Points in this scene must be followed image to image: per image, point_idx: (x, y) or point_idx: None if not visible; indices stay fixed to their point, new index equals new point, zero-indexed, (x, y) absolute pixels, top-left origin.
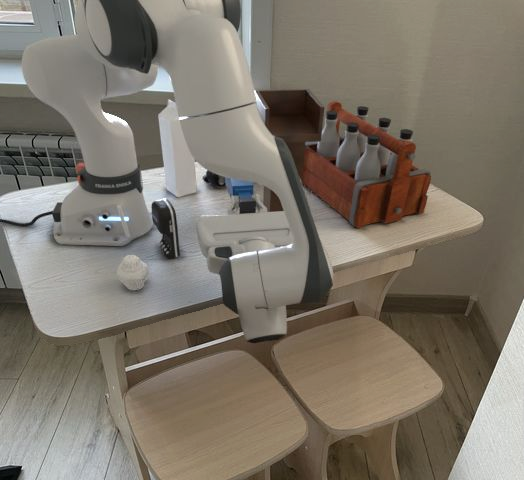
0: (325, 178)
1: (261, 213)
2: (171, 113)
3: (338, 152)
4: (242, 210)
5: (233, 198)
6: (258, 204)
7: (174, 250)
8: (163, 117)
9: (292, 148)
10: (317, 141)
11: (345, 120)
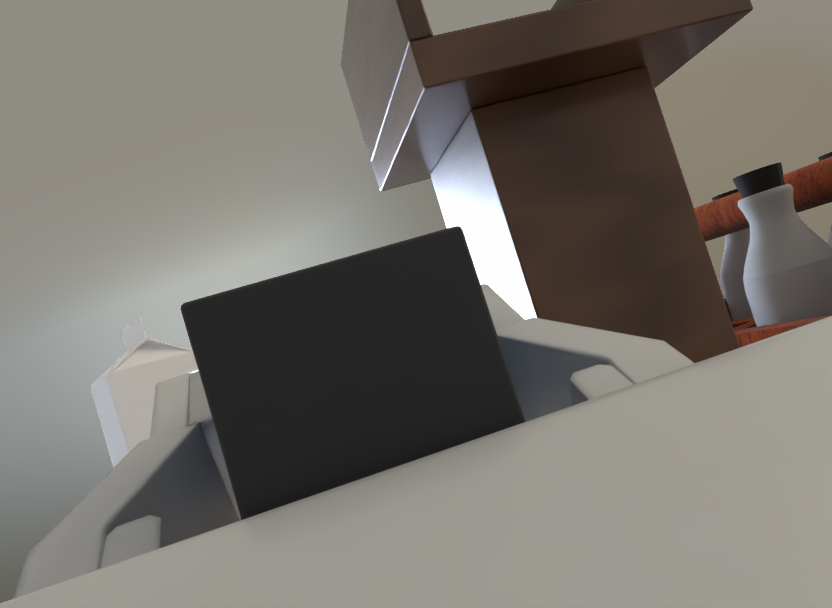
0: None
1: (641, 393)
2: (122, 357)
3: (752, 279)
4: (268, 457)
5: (176, 392)
6: (524, 356)
7: None
8: (97, 380)
9: (600, 141)
10: (734, 14)
11: (702, 222)
